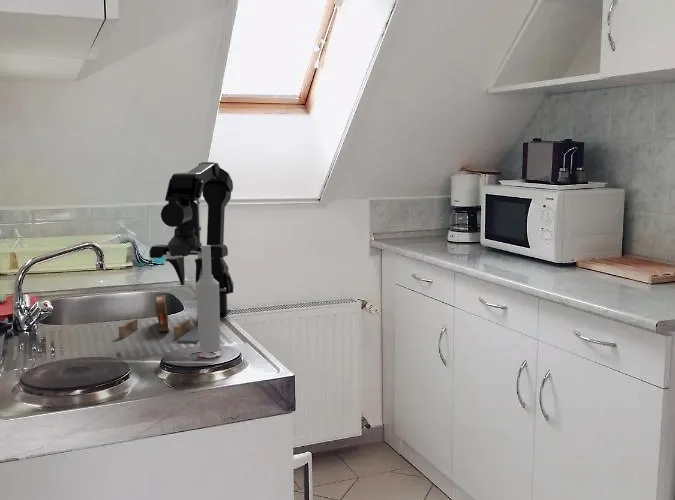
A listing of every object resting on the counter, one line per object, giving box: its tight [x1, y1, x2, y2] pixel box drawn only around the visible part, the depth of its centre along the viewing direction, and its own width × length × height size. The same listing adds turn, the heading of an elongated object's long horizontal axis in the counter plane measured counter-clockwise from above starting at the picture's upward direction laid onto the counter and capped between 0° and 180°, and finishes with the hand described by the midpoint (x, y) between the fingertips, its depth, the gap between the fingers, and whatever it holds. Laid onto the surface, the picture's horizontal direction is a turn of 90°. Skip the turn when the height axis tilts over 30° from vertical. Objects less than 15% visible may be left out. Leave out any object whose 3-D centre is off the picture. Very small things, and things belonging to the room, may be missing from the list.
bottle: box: [195, 244, 222, 352], centre depth 156 cm, size 5×5×25 cm
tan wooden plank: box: [118, 318, 191, 340], centre depth 178 cm, size 9×15×3 cm, turn 84°
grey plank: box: [176, 324, 199, 344], centre depth 177 cm, size 16×5×1 cm, turn 174°
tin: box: [154, 294, 170, 333], centre depth 184 cm, size 15×3×8 cm, turn 14°
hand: (190, 285), depth 176 cm, fingers open, 3 cm apart
